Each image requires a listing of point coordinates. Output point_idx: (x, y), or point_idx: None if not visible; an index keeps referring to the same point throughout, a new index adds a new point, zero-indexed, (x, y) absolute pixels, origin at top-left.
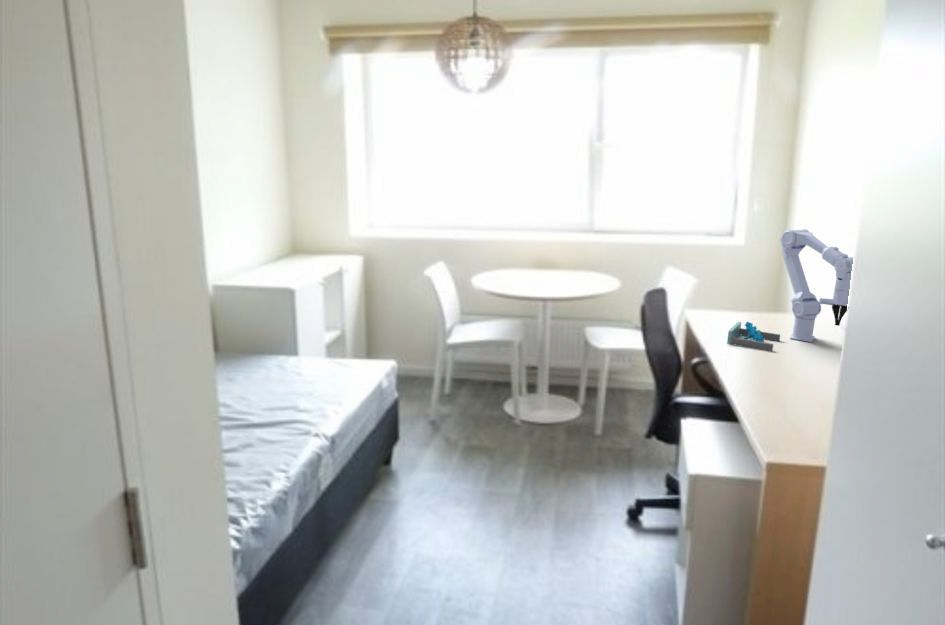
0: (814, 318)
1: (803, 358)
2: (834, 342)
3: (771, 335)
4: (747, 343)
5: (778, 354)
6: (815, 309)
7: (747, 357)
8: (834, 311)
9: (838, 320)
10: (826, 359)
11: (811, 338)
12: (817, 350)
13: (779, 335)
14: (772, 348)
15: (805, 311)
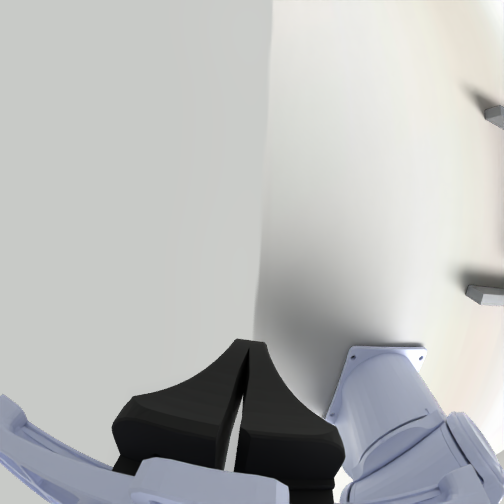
0: (371, 448)
1: (383, 45)
2: None
3: (498, 293)
4: None
5: (461, 72)
6: (381, 492)
7: (498, 27)
8: (298, 413)
9: (240, 356)
10: (295, 66)
11: (348, 379)
12: (337, 211)
13: (483, 293)
14: (490, 111)
15: (459, 430)
